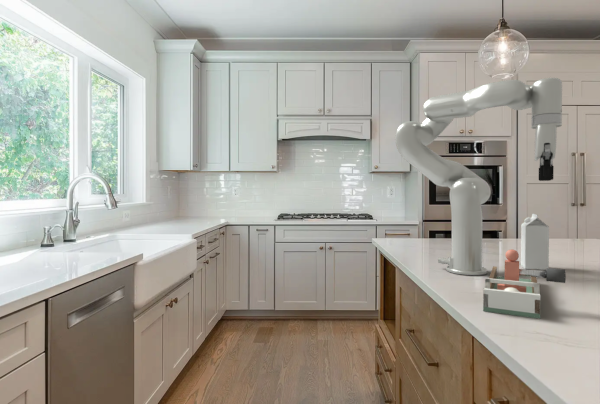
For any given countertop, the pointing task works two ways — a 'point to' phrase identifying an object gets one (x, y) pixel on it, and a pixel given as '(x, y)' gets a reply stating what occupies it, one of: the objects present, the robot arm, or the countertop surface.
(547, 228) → the milk carton
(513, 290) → the egg
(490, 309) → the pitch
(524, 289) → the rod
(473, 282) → the countertop surface
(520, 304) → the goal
